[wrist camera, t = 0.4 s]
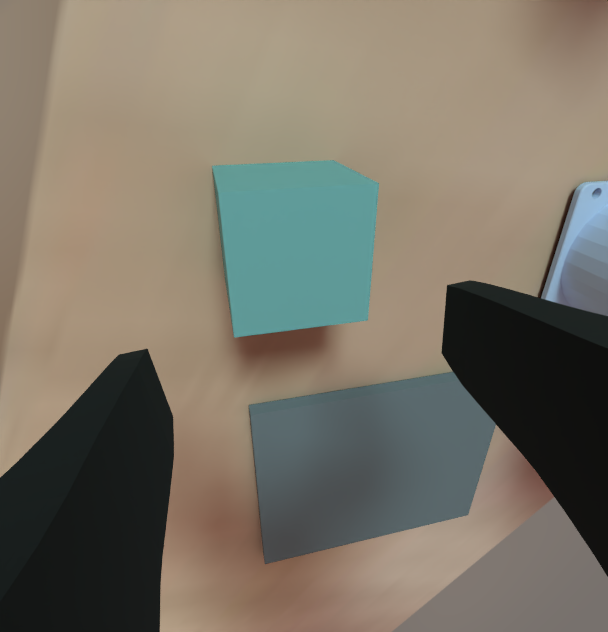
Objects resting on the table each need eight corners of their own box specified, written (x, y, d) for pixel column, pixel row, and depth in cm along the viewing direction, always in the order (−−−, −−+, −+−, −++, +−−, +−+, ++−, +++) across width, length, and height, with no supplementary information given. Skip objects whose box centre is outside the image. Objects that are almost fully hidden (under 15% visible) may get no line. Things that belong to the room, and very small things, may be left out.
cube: (332, 160, 17) (379, 183, 13) (329, 270, 19) (367, 320, 15) (212, 165, 16) (218, 192, 12) (225, 280, 18) (234, 337, 14)
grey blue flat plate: (503, 363, 25) (512, 371, 24) (462, 506, 32) (467, 514, 31) (248, 405, 22) (250, 415, 21) (263, 552, 29) (265, 563, 28)
